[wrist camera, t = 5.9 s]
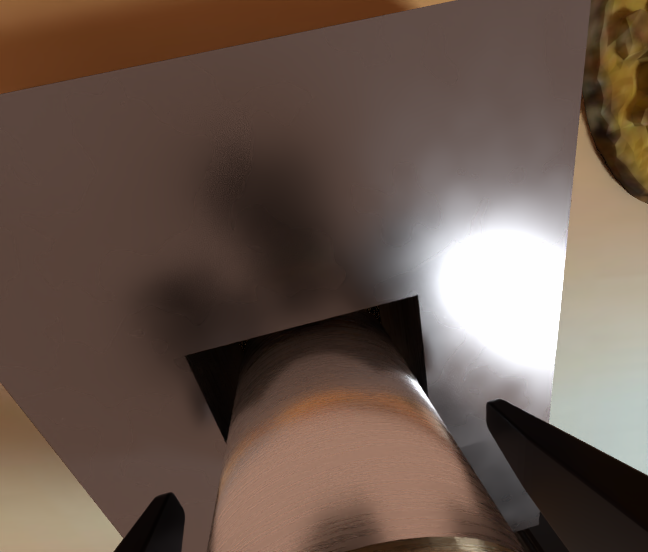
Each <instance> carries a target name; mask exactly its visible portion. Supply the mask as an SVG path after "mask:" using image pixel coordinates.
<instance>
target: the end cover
mask: <svg viewBox="0 0 648 552" xmlns="http://www.w3.org/2000/svg"><path fill="white" fill-rule="evenodd" d="M207 552H525V550H524V549H523V547H522V545H521V544H520V542H519V541H518V539H517V538H516V536H515V534H514V533H513V531H512V530H511V528H510V527H509V525H508V523H507V522H506V520H505V519H504V517H503V515H502V514H501V512H500V511H499V509H498V508H497V506H496V504H495V503H494V501H493V500H492V498H491V497H490V495H489V493H488V492H487V490H486V489H485V487H484V485H483V484H482V482H481V481H480V479H479V478H478V476H477V474H476V473H475V471H474V470H473V468H472V467H471V465H470V463H469V462H468V460H467V459H466V457H465V456H464V454H463V452H462V451H461V449H460V448H459V446H458V444H457V443H456V441H455V440H454V438H453V437H452V435H451V433H450V432H449V430H448V429H447V427H446V426H445V424H444V422H443V421H442V419H441V418H440V416H439V414H438V413H437V411H436V410H435V408H434V407H433V405H432V403H431V402H430V400H429V399H428V397H427V396H426V394H425V392H424V391H423V389H422V388H421V386H420V384H419V383H418V381H417V380H416V378H415V377H414V375H413V373H412V372H411V370H410V369H409V367H408V366H407V364H406V362H405V361H404V359H403V358H402V356H401V355H400V353H399V351H398V350H397V348H396V347H395V345H394V343H393V342H392V340H391V339H390V337H389V336H388V334H387V332H386V331H385V329H384V328H383V326H382V325H381V323H380V322H379V321H378V320H377V319H376V317H374V316H373V315H372V314H371V313H370V312H369V311H367V310H365V309H362V310H358V311H354V312H350V313H346V314H343V315H339V316H335V317H331V318H327V319H323V320H320V321H316V322H312V323H308V324H304V325H300V326H296V327H293V328H289V329H285V330H281V331H277V332H273V333H270V334H266V335H262V336H258V337H254V338H250V339H249V340H248V342H247V344H246V347H245V349H244V352H243V357H242V363H241V368H240V373H239V379H238V384H237V390H236V395H235V400H234V406H233V411H232V417H231V422H230V428H229V433H228V438H227V444H226V449H225V455H224V460H223V465H222V471H221V476H220V482H219V487H218V493H217V498H216V503H215V509H214V514H213V520H212V525H211V531H210V536H209V541H208V547H207Z"/></svg>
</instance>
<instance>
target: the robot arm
mask: <svg viewBox="0 0 648 552" xmlns="http://www.w3.org/2000/svg"><path fill="white" fill-rule="evenodd" d="M486 424H487V427H488V430H489V431H490V433H491V435H492V437H493V438H494V440H495V442H496V443H497V445H498V447H499V448H500V450H501V452H502V453H503V455H504V457H505V458H506V460H507V462H508V463H509V465H510V467H511V468H512V470H513V472H514V473H515V475H516V477H517V478H518V480H519V481H520V483H521V485H522V486H523V488H524V489H525V491H526V492H527V493H528V495H529V496H530V498H531V499H532V501H533V502H534V503H535V505H536V506H537V507H538V509H539V510H540V515H539V525H536V526H533V527H530V528H527V529H523V530H520V531H517V532H514V534H515V536H516V538H517V539H518V541H519V542H520V544H521V545H522V547H523V549H524V550H525V552H648V475H646V474H644V473H642V472H640V471H638V470H636V469H634V468H633V467H631V466H629V465H627V464H625V463H623V462H621V461H619V460H617V459H615V458H614V457H612V456H610V455H608V454H606V453H604V452H602V451H600V450H598V449H596V448H595V447H593V446H591V445H589V444H587V443H585V442H583V441H581V440H579V439H577V438H576V437H574V436H572V435H570V434H568V433H566V432H564V431H562V430H560V429H559V428H557V427H555V426H553V425H551V424H549V423H547V422H545V421H543V420H541V419H540V418H538V417H536V416H534V415H532V414H530V413H528V412H526V411H524V410H522V409H521V408H519V407H517V406H515V405H513V404H511V403H509V402H507V401H505V400H503V399H495V400H492V401H488V402H487V404H486ZM184 525H185V512H184V509H183V507H182V505H181V504H180V502H179V501H178V499H177V497H176V496H175V494H174V493H172V492H168V493H165V494H161V495H158V496H156V497H155V498H154V499H153V500H152V502H151V503H150V504H149V506H148V507H147V508H146V510H145V511H144V512H143V513H142V515H141V516H140V517H139V519H138V520H137V521H136V523H135V524H134V525H133V527H132V528H131V529H130V531H129V532H128V533H127V535H126V536H125V537H124V539H123V540H122V541H121V543H120V544H119V545H118V547H117V548H116V549H115V551H114V552H181V551H182V543H183V534H184Z"/></svg>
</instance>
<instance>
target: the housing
mask: <svg viewBox="0 0 648 552" xmlns="http://www.w3.org/2000/svg"><path fill="white" fill-rule="evenodd" d="M590 5H591V0H456V1H451V2H446V3H441V4H436V5H431V6H426V7H422V8H417V9H412V10H407V11H402V12H397V13H392V14H388V15H383V16H378V17H373V18H368V19H363V20H358V21H354V22H349V23H344V24H339V25H334V26H329V27H324V28H320V29H315V30H310V31H305V32H300V33H295V34H290V35H286V36H281V37H276V38H271V39H266V40H261V41H256V42H252V43H247V44H242V45H237V46H232V47H227V48H222V49H218V50H213V51H208V52H203V53H198V54H193V55H188V56H184V57H179V58H174V59H169V60H164V61H159V62H154V63H150V64H145V65H140V66H135V67H130V68H125V69H120V70H116V71H111V72H106V73H101V74H96V75H91V76H87V77H82V78H77V79H72V80H67V81H62V82H57V83H53V84H48V85H43V86H38V87H33V88H28V89H23V90H19V91H14V92H9V93H4V94H0V382H1V384H2V385H3V386H4V387H5V389H6V390H7V391H8V393H9V394H10V395H11V396H12V398H13V399H14V400H15V401H16V403H17V404H18V405H19V406H20V408H21V409H22V410H23V412H24V413H25V414H26V415H27V417H28V418H29V419H30V420H31V422H32V423H33V424H34V426H35V427H36V428H37V429H38V431H39V432H40V433H41V434H42V436H43V437H44V438H45V439H46V441H47V442H48V443H49V445H50V446H51V447H52V448H53V450H54V451H55V452H56V453H57V455H58V456H59V457H60V458H61V460H62V461H63V462H64V464H65V465H66V466H67V467H68V469H69V470H70V471H71V472H72V474H73V475H74V476H75V477H76V479H77V480H78V481H79V483H80V484H81V485H82V486H83V488H84V489H85V490H86V491H87V493H88V494H89V495H90V497H91V498H92V499H93V500H94V502H95V503H96V504H97V505H98V507H99V508H100V509H101V510H102V512H103V513H104V514H105V516H106V517H107V518H108V519H109V521H110V522H111V523H112V524H113V526H114V527H115V528H116V529H117V531H118V532H119V533H120V535H121V536H122V537H123V538H124V537H125V536H126V535H127V533H128V532H129V531H130V529H131V528H132V527H133V525H134V524H135V523H136V521H137V520H138V519H139V517H140V516H141V515H142V513H143V512H144V511H145V510H146V508H147V507H148V506H149V504H150V503H151V502H152V500H153V499H154V498H155V497H156V496H158V495H161V494H165V493H168V492H172V493H174V494H175V496H176V497H177V499H178V501H179V502H180V504H181V505H182V507H183V509H184V512H185V525H184V534H183V543H182V551H181V552H207V547H208V541H209V536H210V531H211V525H212V520H213V514H214V509H215V503H216V498H217V493H218V487H219V482H220V476H221V471H222V465H223V460H224V455H225V449H226V444H227V438H228V433H229V428H230V422H231V417H232V411H233V406H234V400H235V395H236V390H237V384H238V379H239V373H240V368H241V363H242V357H243V351H242V348H241V346H240V343H239V341H243V340H246V339H250V338H254V337H258V336H262V335H266V334H270V333H273V332H277V331H281V330H285V329H289V328H293V327H296V326H300V325H304V324H308V323H312V322H316V321H320V320H323V319H327V318H331V317H335V316H339V315H343V314H346V313H350V312H354V311H358V310H362V309H366V308H370V307H373V306H377V305H379V310H380V317H381V323H382V326H383V328H384V329H385V331H386V332H387V334H388V336H389V337H390V339H391V340H392V342H393V343H394V345H395V347H396V348H397V350H398V351H399V353H400V355H401V356H402V358H403V359H404V361H405V362H406V364H407V366H408V367H409V369H410V370H411V372H412V373H413V375H414V377H415V378H416V380H417V381H418V383H419V384H420V386H421V388H422V389H423V391H424V392H425V394H426V396H427V397H428V399H429V400H430V402H431V403H432V405H433V407H434V408H435V410H436V411H437V413H438V414H439V416H440V418H441V419H442V421H443V422H444V424H445V426H446V427H447V429H448V430H449V432H450V433H451V435H452V437H453V438H454V440H455V441H456V443H457V444H458V446H459V448H460V449H461V451H462V452H463V454H464V456H465V457H466V459H467V460H468V462H469V463H470V465H471V467H472V468H473V470H474V471H475V473H476V474H477V476H478V478H479V479H480V481H481V482H482V484H483V485H484V487H485V489H486V490H487V492H488V493H489V495H490V497H491V498H492V500H493V501H494V503H495V504H496V506H497V508H498V509H499V511H500V512H501V514H502V515H503V517H504V519H505V520H506V522H507V523H508V525H509V527H510V528H511V530H512V531H513V533H514V532H517V531H520V530H523V529H527V528H530V527H533V526H536V525H539V515H540V510H539V509H538V507H537V506H536V505H535V503H534V502H533V501H532V499H531V498H530V496H529V495H528V493H527V492H526V491H525V489H524V488H523V486H522V485H521V483H520V481H519V480H518V478H517V477H516V475H515V473H514V472H513V470H512V468H511V467H510V465H509V463H508V462H507V460H506V458H505V457H504V455H503V453H502V452H501V450H500V448H499V447H498V445H497V443H496V442H495V440H494V438H493V437H492V435H491V433H490V431H489V430H488V427H487V424H486V404H487V402H488V401H492V400H495V399H503V400H505V401H507V402H509V403H511V404H513V405H515V406H517V407H519V408H521V409H522V410H524V411H526V412H528V413H530V414H532V415H534V416H536V417H538V418H540V419H541V420H543V421H545V422H547V423H549V415H550V405H551V395H552V385H553V375H554V365H555V355H556V345H557V335H558V325H559V315H560V305H561V295H562V285H563V275H564V265H565V255H566V245H567V235H568V225H569V215H570V205H571V195H572V185H573V175H574V165H575V155H576V145H577V135H578V125H579V115H580V105H581V95H582V85H583V75H584V65H585V55H586V45H587V35H588V25H589V15H590Z"/></svg>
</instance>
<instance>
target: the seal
mask: <svg viewBox="0 0 648 552" xmlns="http://www.w3.org/2000/svg"><path fill="white" fill-rule="evenodd" d="M582 92H583V97H584V103H585V109H586V115H587V120H588V124H589V126H590V132H591V134H592V136H593V138H594V141H595V144H596V147H597V149H598V150H599V151H600V152H601V154H602V156H603V158H604V159H605V161H606V163H607V165H608V166H609V168H610V169H611V171H612V173H613V175H614V177H615V178H616V179H617V180H618V181H619V182H620V183H621V184H622V185H623V187H624V188H625V189H626V190H627V191H628V192H629V194H630V195H632V196H633V197H635V198H637V199H639V200H640V201H643V202H645V203H647V204H648V0H591V5H590V15H589V25H588V35H587V45H586V55H585V65H584V75H583V85H582Z"/></svg>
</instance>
